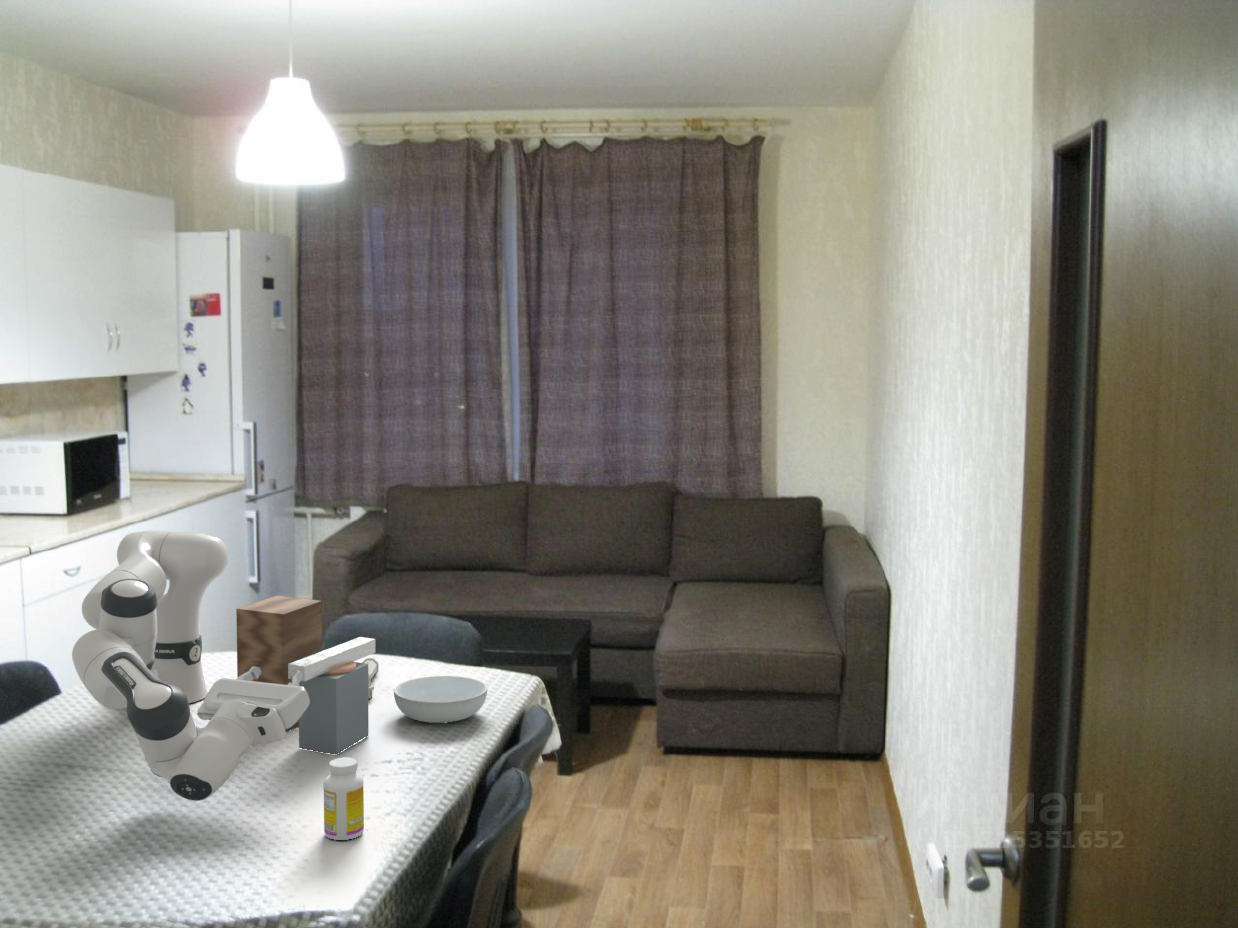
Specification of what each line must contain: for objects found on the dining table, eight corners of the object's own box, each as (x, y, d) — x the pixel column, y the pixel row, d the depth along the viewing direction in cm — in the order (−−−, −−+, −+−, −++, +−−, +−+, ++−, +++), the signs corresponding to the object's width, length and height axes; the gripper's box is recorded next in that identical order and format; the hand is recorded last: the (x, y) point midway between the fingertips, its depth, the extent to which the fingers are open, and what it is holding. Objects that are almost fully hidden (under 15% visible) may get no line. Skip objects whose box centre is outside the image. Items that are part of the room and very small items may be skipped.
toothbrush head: (381, 656, 303) (372, 670, 278) (381, 683, 303) (372, 699, 278) (360, 657, 302) (349, 671, 277) (360, 683, 302) (349, 700, 277)
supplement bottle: (367, 826, 209) (366, 755, 207) (360, 842, 202) (359, 769, 201) (328, 826, 208) (328, 754, 207) (320, 842, 202) (319, 768, 200)
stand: (238, 725, 259) (236, 608, 256) (277, 707, 272) (276, 595, 270) (284, 733, 255) (283, 614, 252) (322, 714, 268) (321, 600, 265)
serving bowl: (495, 705, 278) (496, 676, 277) (475, 735, 257) (476, 704, 256) (408, 700, 280) (408, 672, 279) (381, 730, 259) (381, 699, 258)
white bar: (288, 678, 238) (288, 663, 237) (359, 650, 260) (359, 636, 259) (304, 681, 236) (304, 666, 236) (375, 652, 258) (375, 638, 258)
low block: (299, 749, 246) (298, 669, 244) (332, 731, 257) (331, 655, 255) (336, 755, 243) (336, 674, 241) (368, 737, 254) (368, 660, 252)
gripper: (198, 729, 225) (238, 678, 235) (290, 741, 217) (327, 687, 228) (186, 705, 221) (227, 654, 232) (279, 716, 214) (317, 663, 225)
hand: (278, 671), depth 230 cm, fingers open, 8 cm apart
